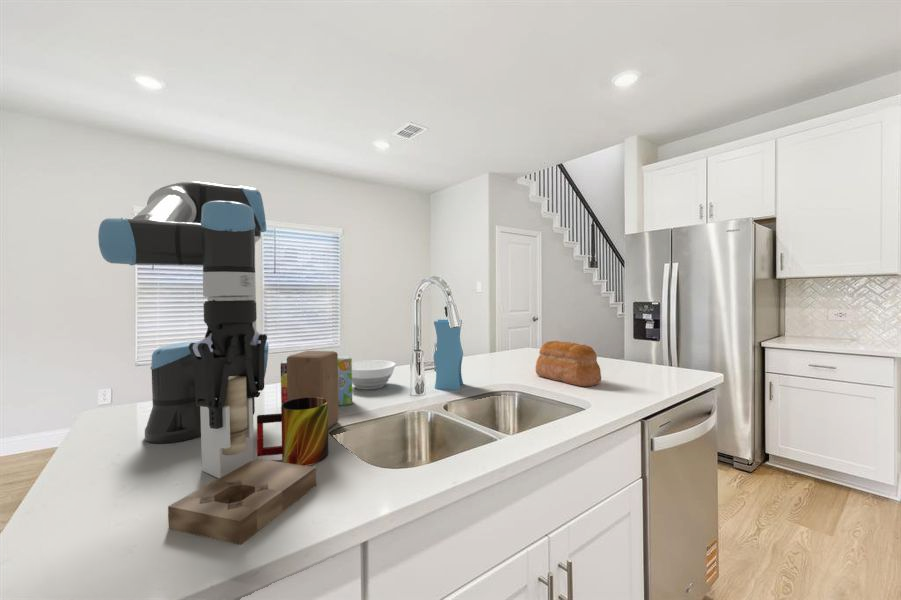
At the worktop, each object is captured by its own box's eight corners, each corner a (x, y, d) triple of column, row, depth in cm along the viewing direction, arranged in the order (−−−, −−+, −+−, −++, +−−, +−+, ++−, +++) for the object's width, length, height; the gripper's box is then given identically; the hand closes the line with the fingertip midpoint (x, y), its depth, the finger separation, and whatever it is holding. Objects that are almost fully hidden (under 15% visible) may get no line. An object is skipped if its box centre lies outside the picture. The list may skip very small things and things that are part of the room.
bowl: (391, 393, 141) (391, 370, 141) (336, 393, 141) (336, 370, 141) (399, 380, 160) (398, 359, 160) (351, 380, 161) (351, 360, 160)
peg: (213, 454, 64) (212, 380, 63) (234, 445, 68) (232, 375, 67) (233, 457, 63) (232, 382, 62) (253, 447, 66) (251, 376, 66)
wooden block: (321, 435, 101) (320, 357, 100) (286, 432, 103) (284, 355, 102) (340, 422, 111) (339, 350, 110) (307, 419, 113) (306, 349, 112)
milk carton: (220, 480, 77) (217, 383, 77) (201, 471, 81) (199, 379, 81) (254, 466, 83) (252, 376, 83) (235, 458, 87) (233, 372, 87)
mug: (256, 460, 86) (255, 406, 86) (319, 444, 95) (318, 394, 94) (268, 477, 79) (266, 417, 78) (335, 458, 87) (334, 404, 87)
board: (168, 528, 62) (168, 506, 62) (256, 475, 79) (255, 458, 79) (240, 544, 58) (240, 521, 58) (316, 485, 75) (316, 467, 75)
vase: (438, 382, 156) (437, 319, 155) (463, 383, 154) (462, 319, 153) (433, 389, 146) (433, 321, 145) (460, 389, 144) (460, 321, 144)
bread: (583, 389, 145) (583, 347, 145) (531, 376, 167) (531, 340, 166) (606, 383, 153) (606, 344, 152) (553, 372, 174) (553, 337, 174)
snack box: (351, 400, 132) (350, 355, 132) (352, 405, 127) (351, 358, 126) (282, 406, 125) (281, 359, 125) (280, 412, 120) (279, 362, 120)
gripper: (201, 300, 55) (205, 466, 56) (285, 297, 71) (288, 426, 72) (161, 300, 57) (165, 460, 58) (252, 297, 74) (254, 422, 74)
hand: (233, 441), depth 65 cm, fingers closed on peg, 4 cm apart
